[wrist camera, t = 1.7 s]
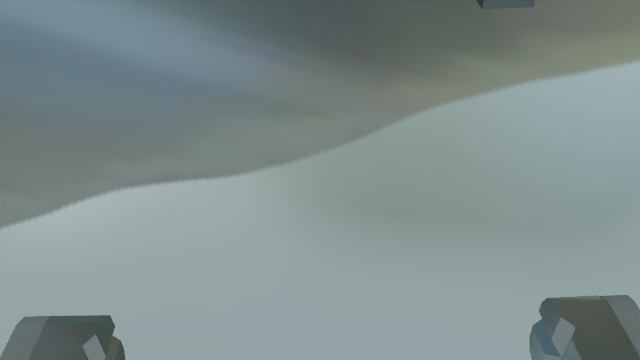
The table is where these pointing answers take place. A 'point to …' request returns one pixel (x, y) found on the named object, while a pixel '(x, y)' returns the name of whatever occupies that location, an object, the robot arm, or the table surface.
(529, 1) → the bracket
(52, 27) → the table surface
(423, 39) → the table surface
